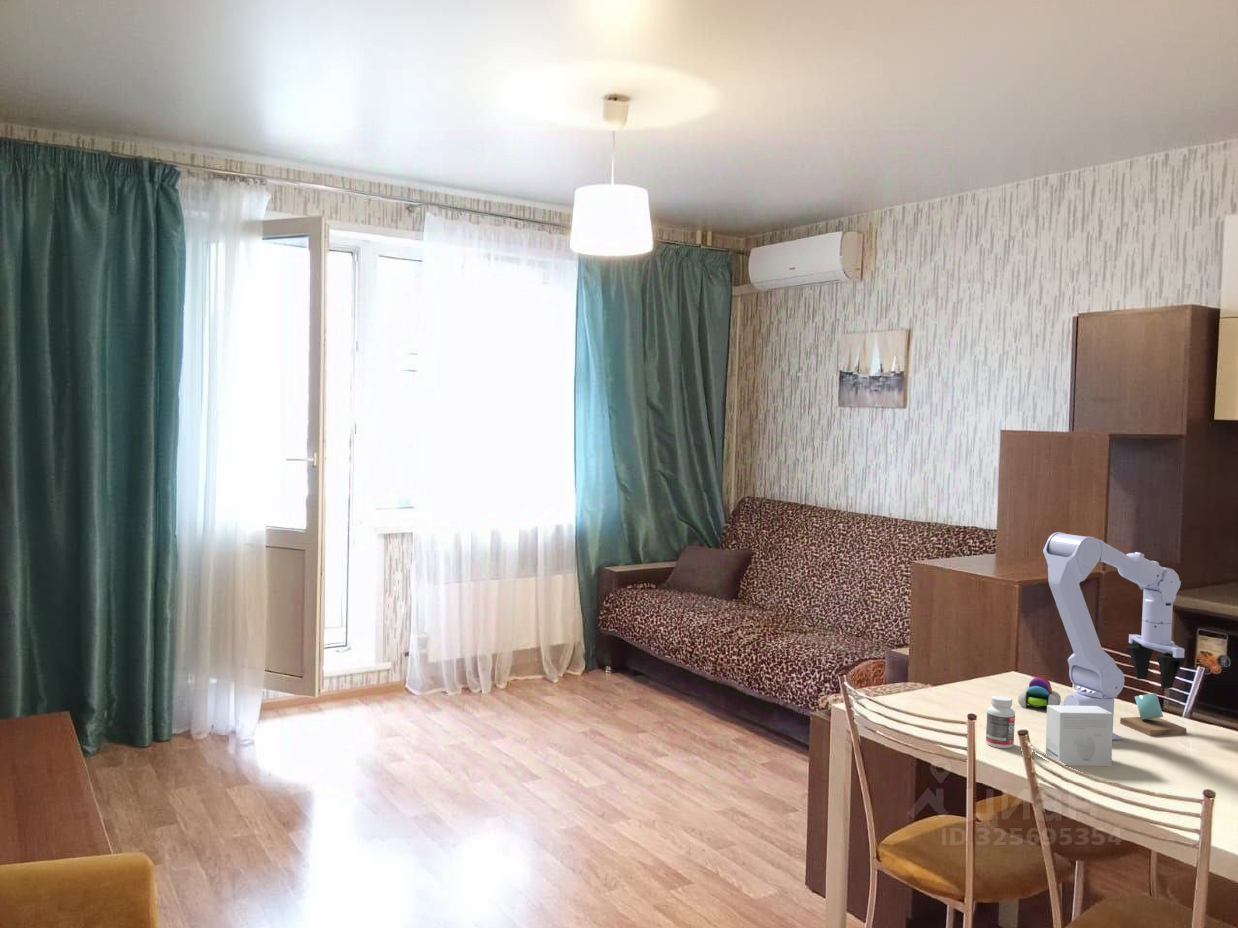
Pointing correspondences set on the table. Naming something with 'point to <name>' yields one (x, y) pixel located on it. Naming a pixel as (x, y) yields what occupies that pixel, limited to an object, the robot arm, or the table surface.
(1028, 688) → the multicolored rounded toy
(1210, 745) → the table surface
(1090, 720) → the skincare box
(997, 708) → the pill bottle
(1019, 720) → the table surface
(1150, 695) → the teal rounded cylinder
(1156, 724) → the walnut block
